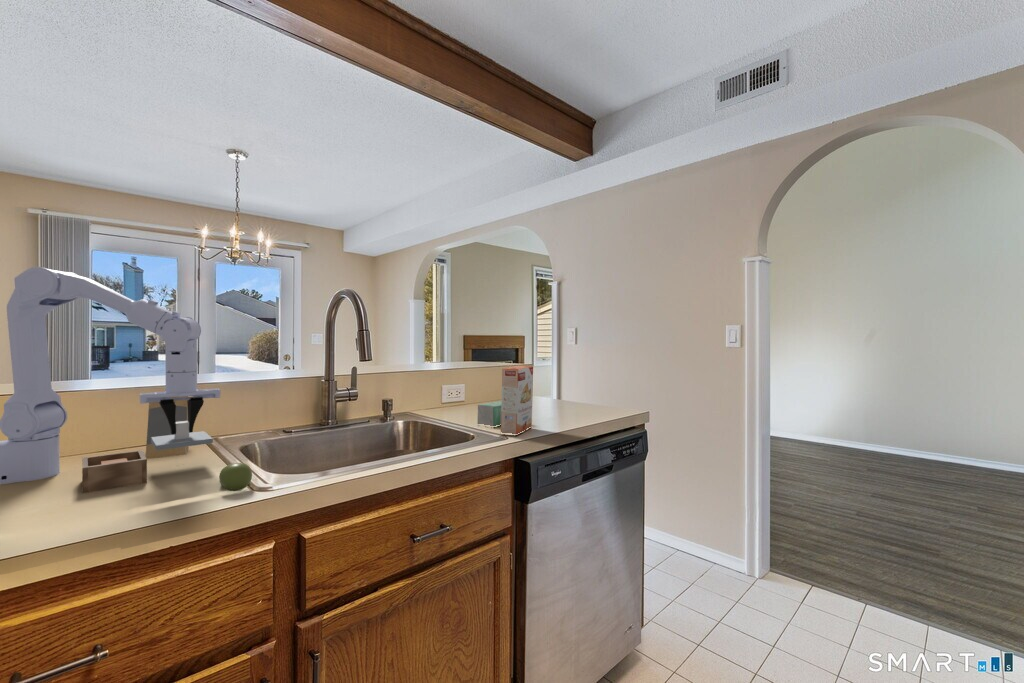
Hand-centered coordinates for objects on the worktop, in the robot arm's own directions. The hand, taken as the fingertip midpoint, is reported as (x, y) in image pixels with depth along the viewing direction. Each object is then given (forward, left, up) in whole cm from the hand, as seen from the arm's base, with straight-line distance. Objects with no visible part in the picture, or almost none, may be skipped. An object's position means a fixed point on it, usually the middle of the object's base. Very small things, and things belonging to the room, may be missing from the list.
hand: (181, 432), depth 104 cm
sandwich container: (0, +21, -9) cm, 23 cm away
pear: (+6, -18, -9) cm, 21 cm away
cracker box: (+86, -17, -9) cm, 89 cm away
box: (+90, -4, -9) cm, 90 cm away
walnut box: (-12, -2, -9) cm, 15 cm away
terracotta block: (-12, -2, -8) cm, 14 cm away
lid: (0, 0, -2) cm, 2 cm away
